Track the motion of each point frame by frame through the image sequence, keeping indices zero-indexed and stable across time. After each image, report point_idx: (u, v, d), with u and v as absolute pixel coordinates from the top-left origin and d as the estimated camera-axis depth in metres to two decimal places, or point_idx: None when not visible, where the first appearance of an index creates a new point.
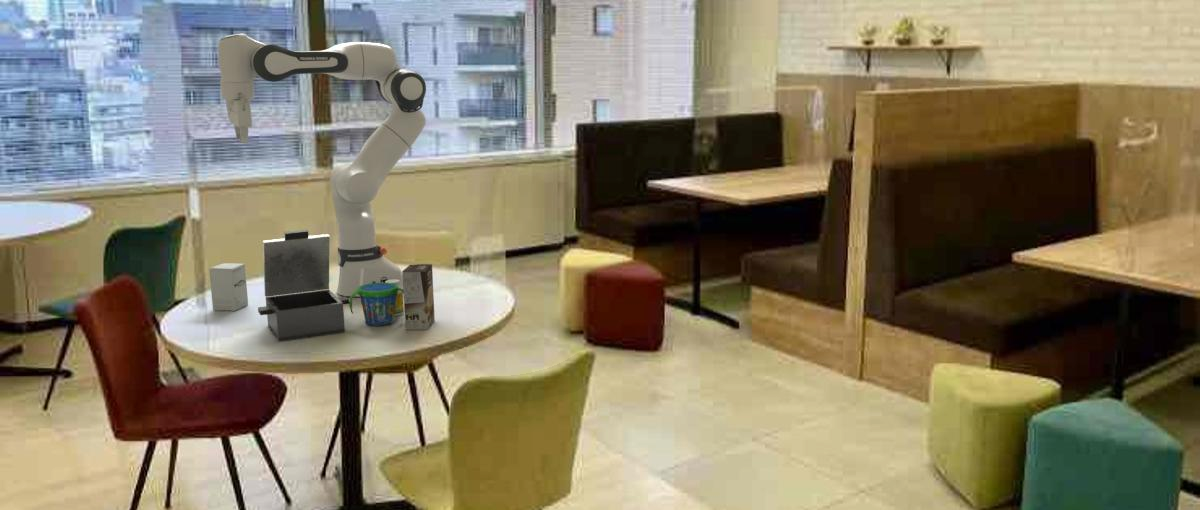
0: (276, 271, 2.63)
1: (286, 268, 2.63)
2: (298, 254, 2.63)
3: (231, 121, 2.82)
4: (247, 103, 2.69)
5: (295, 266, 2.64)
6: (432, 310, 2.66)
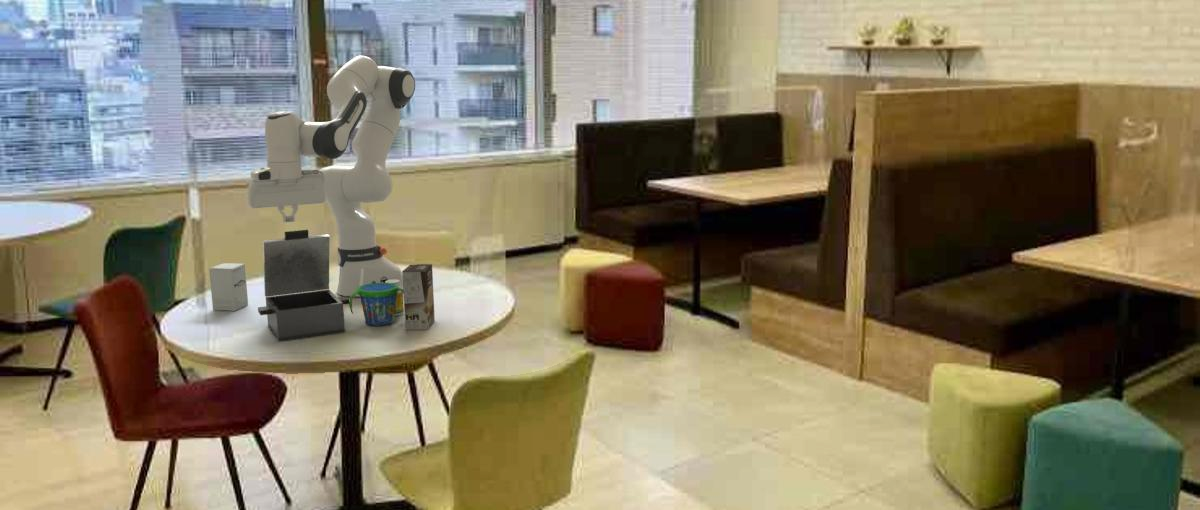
0: (276, 271, 2.63)
1: (286, 268, 2.63)
2: (298, 254, 2.63)
3: (269, 204, 2.64)
4: None
5: (295, 266, 2.64)
6: (432, 310, 2.66)
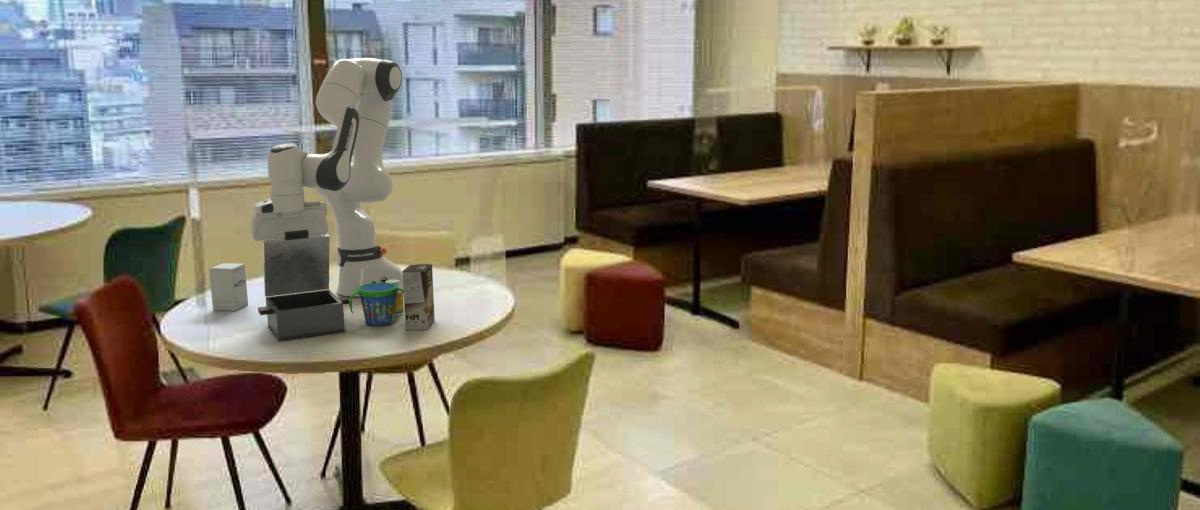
0: (276, 271, 2.63)
1: (286, 268, 2.63)
2: (298, 254, 2.63)
3: (272, 236, 2.65)
4: None
5: (295, 266, 2.64)
6: (432, 310, 2.66)
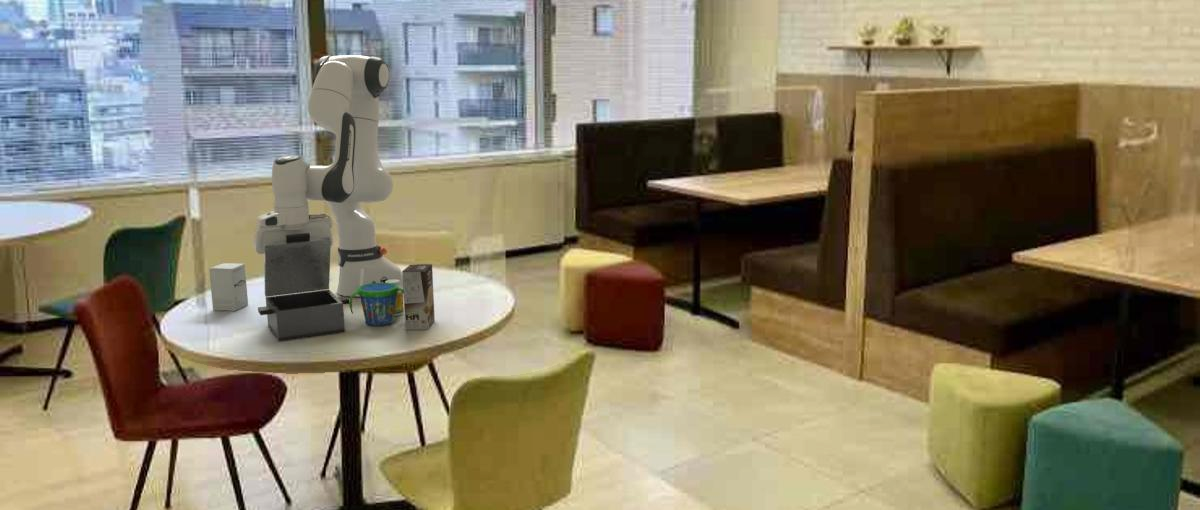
0: (277, 273, 2.62)
1: (287, 270, 2.63)
2: (299, 256, 2.62)
3: None
4: None
5: (296, 268, 2.64)
6: (432, 310, 2.66)
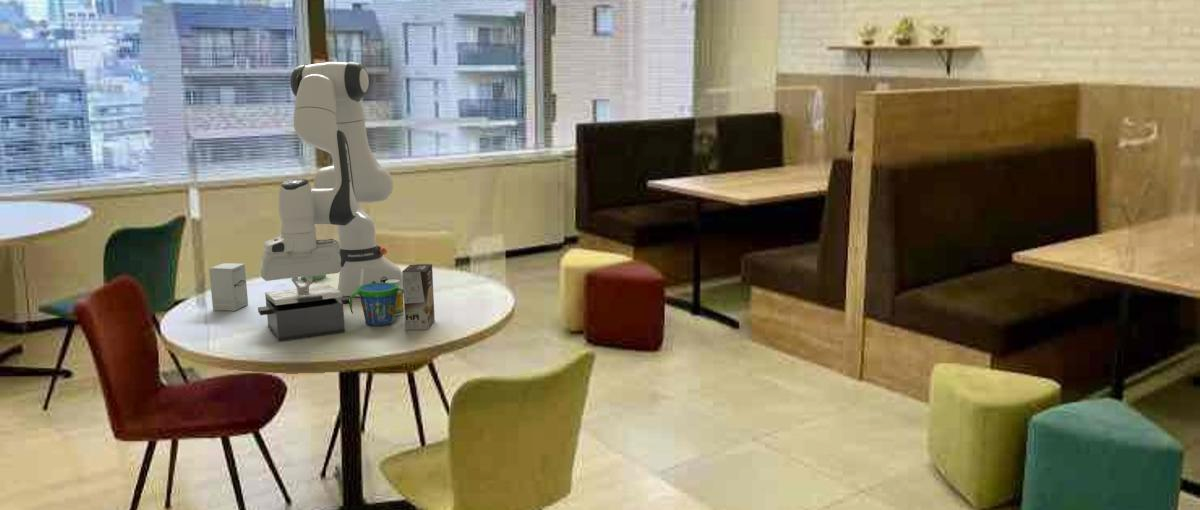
0: None
1: None
2: None
3: (282, 276, 2.54)
4: None
5: None
6: (432, 310, 2.66)
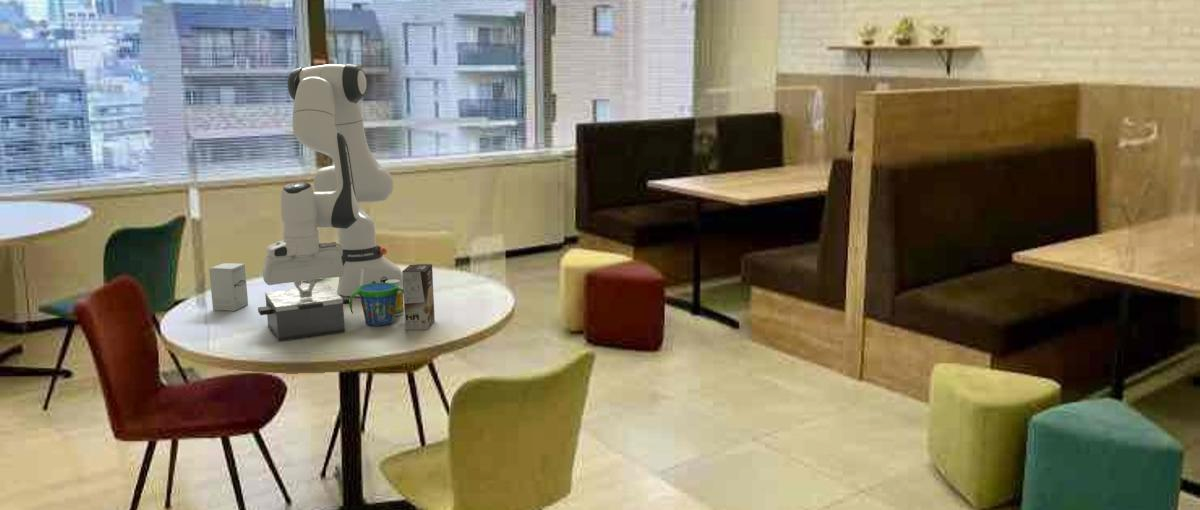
0: None
1: None
2: None
3: (285, 280, 2.53)
4: None
5: None
6: (432, 310, 2.66)
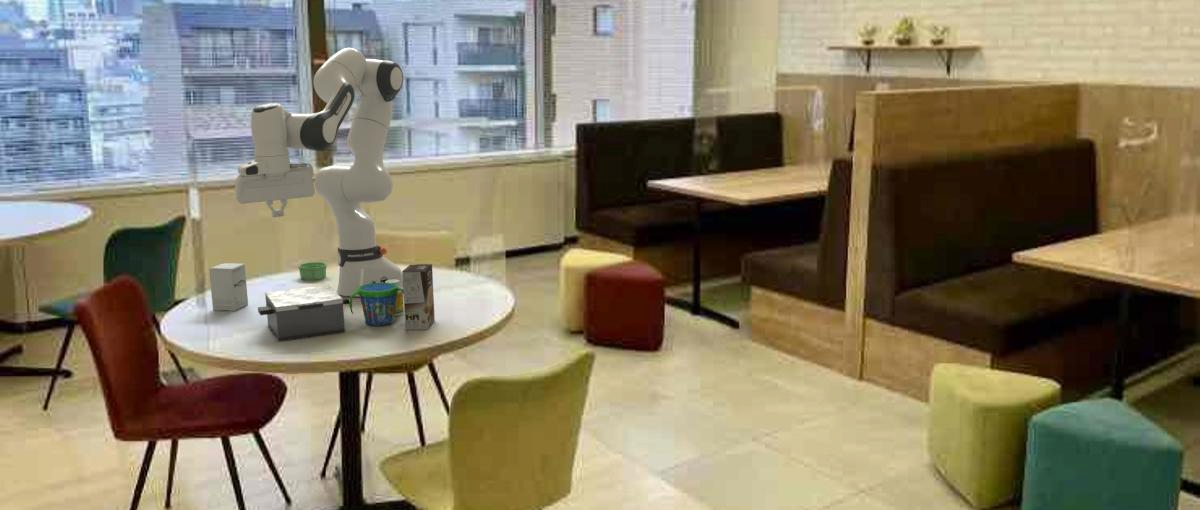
0: None
1: None
2: None
3: (257, 199, 2.58)
4: None
5: None
6: (432, 310, 2.66)
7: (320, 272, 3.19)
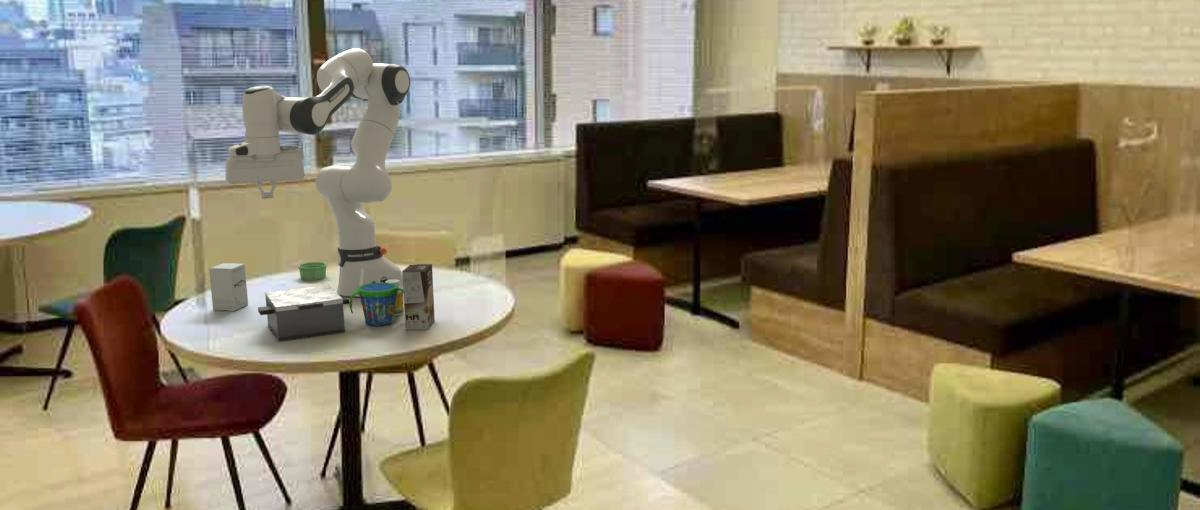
0: None
1: None
2: None
3: (246, 180, 2.61)
4: None
5: None
6: (432, 310, 2.66)
7: (320, 272, 3.19)
